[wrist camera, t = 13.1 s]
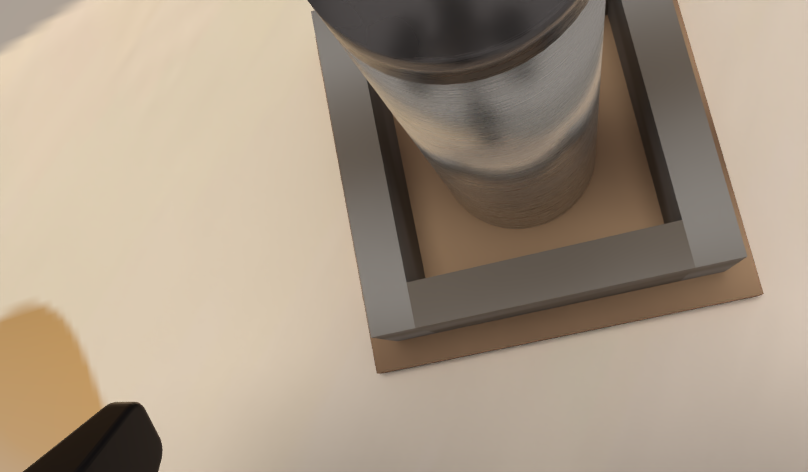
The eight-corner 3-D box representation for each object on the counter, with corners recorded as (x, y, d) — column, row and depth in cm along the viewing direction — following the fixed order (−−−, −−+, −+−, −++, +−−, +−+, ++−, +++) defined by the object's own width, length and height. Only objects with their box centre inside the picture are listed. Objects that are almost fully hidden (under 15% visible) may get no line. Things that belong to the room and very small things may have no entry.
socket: (758, 295, 21) (792, 282, 18) (381, 373, 23) (347, 374, 20) (656, -54, 24) (669, -126, 20) (321, 44, 26) (280, -6, 22)
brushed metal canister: (556, 253, 22) (524, 107, 10) (419, 193, 23) (232, -6, 11) (620, 113, 22) (670, -205, 10) (481, 62, 24) (368, -281, 11)
